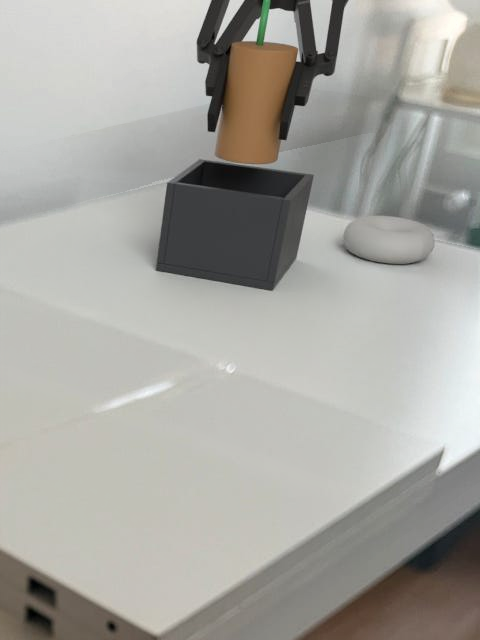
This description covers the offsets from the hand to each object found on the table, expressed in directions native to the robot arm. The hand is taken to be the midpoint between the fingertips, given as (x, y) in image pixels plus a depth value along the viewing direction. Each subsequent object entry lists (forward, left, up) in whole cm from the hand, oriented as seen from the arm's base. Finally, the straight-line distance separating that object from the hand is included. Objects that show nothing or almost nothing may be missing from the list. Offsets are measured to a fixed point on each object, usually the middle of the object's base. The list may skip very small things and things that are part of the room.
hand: (247, 126), depth 101 cm
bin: (+1, -3, -14) cm, 15 cm away
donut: (-10, -20, -15) cm, 27 cm away
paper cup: (+1, -3, -3) cm, 5 cm away
